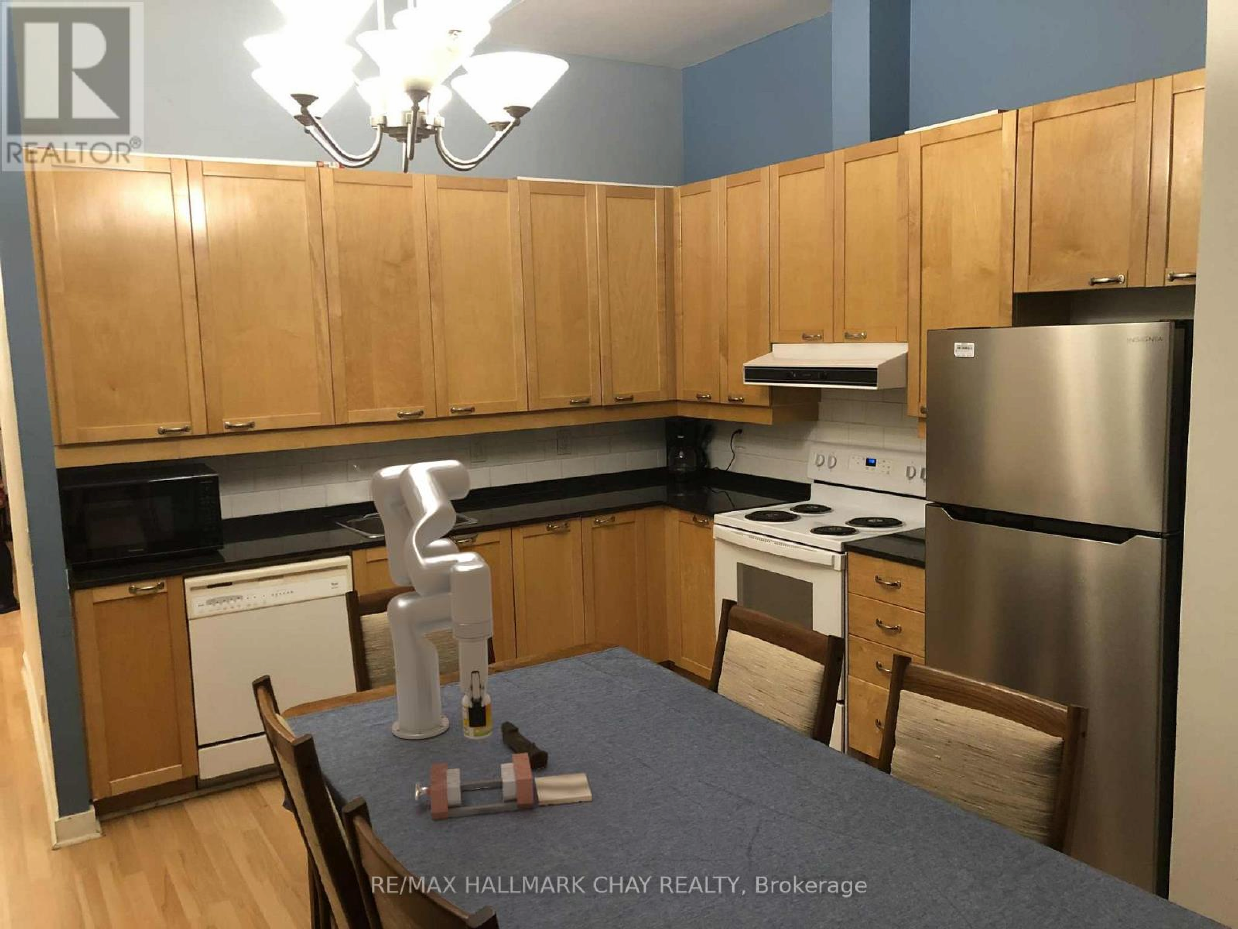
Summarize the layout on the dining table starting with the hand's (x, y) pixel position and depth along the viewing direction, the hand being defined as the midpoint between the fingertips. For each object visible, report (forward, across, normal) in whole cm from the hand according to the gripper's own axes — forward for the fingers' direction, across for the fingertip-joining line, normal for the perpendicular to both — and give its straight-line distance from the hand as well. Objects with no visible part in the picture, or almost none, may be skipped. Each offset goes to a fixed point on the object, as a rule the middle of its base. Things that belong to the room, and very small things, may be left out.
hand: (477, 719), depth 193 cm
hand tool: (+17, -19, +8) cm, 27 cm away
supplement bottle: (+3, 0, 0) cm, 3 cm away
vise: (+16, +1, -1) cm, 16 cm away
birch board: (+16, 0, +16) cm, 22 cm away
